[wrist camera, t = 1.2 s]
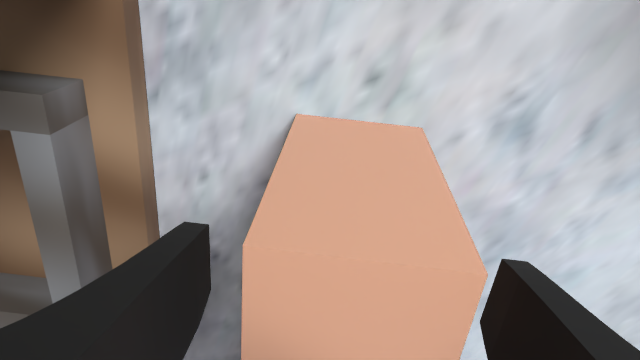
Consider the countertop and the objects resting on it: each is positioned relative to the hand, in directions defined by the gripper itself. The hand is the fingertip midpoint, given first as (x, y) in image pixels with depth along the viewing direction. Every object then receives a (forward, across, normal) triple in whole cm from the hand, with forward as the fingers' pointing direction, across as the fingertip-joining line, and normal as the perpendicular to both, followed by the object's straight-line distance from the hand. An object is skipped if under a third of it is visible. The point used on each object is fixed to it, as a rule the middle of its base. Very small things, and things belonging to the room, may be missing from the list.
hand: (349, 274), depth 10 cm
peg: (+6, 0, 0) cm, 6 cm away
